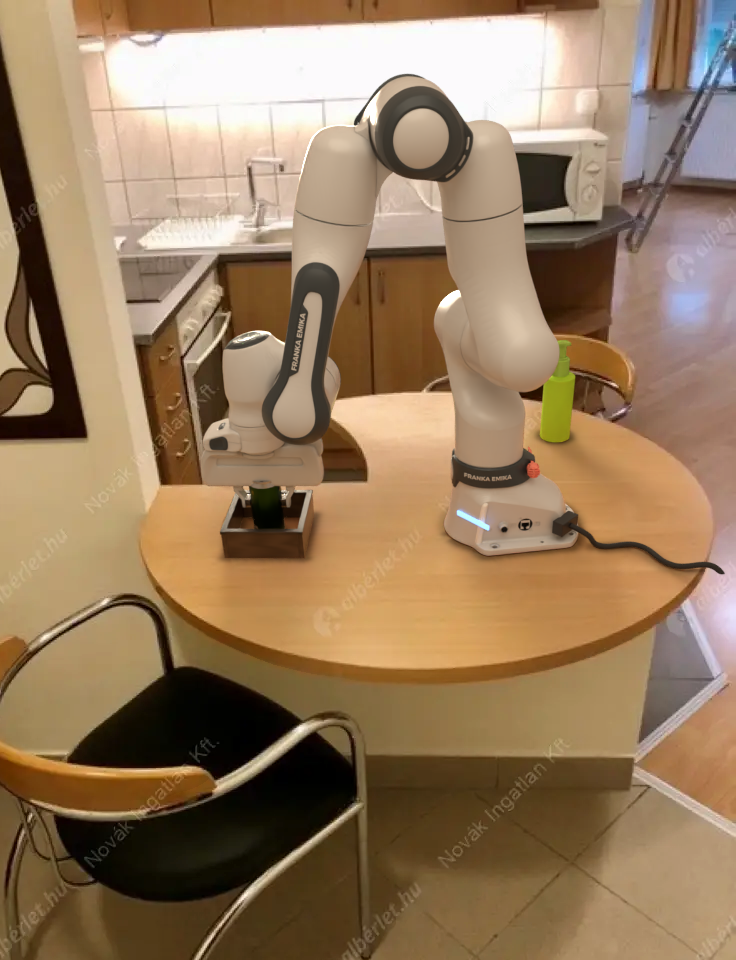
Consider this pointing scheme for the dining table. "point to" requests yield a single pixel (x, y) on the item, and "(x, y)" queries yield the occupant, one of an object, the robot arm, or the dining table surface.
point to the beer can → (266, 505)
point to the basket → (268, 530)
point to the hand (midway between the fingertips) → (266, 505)
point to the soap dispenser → (558, 400)
